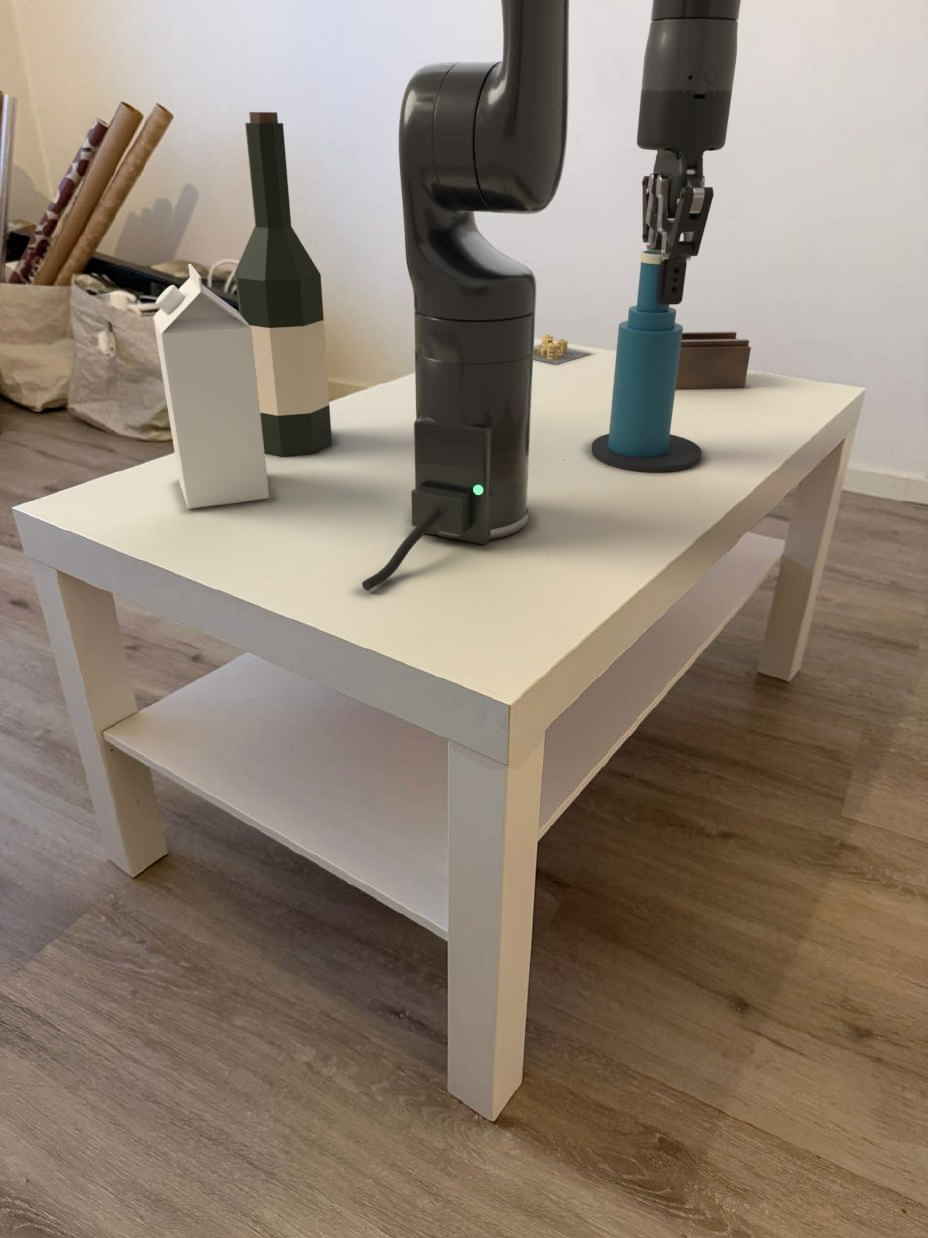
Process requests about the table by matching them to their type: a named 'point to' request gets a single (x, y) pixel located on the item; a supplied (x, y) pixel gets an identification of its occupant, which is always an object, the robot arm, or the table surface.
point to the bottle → (645, 370)
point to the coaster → (676, 458)
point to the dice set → (555, 351)
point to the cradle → (712, 360)
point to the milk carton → (211, 396)
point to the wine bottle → (282, 306)
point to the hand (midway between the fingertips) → (663, 298)
